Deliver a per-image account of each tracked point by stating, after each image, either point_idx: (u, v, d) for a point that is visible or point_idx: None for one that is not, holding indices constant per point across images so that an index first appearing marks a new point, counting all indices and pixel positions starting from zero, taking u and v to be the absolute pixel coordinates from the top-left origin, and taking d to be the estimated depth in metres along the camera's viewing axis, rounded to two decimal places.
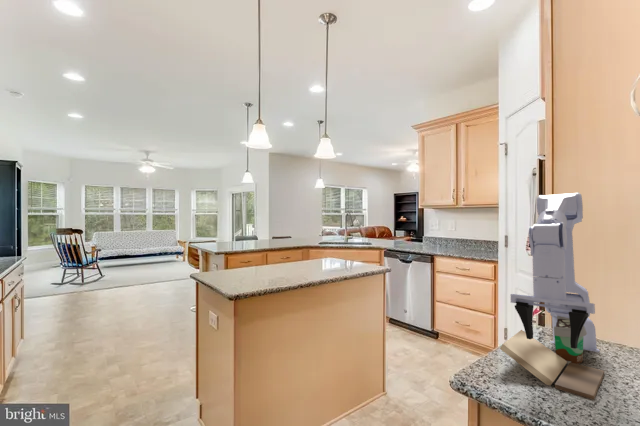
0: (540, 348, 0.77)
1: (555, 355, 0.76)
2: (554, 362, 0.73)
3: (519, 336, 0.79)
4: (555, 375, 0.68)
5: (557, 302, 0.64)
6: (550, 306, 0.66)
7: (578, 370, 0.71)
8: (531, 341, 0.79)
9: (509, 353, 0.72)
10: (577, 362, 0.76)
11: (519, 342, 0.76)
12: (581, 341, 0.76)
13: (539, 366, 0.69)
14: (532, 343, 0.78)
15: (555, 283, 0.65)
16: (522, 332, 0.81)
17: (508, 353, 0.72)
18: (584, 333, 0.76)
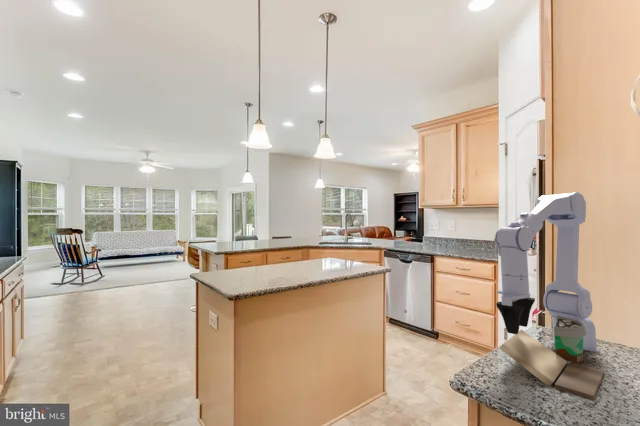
0: (540, 348, 0.77)
1: (555, 355, 0.76)
2: (554, 362, 0.73)
3: (519, 336, 0.79)
4: (555, 375, 0.68)
5: None
6: None
7: (578, 370, 0.71)
8: (531, 341, 0.79)
9: (509, 353, 0.72)
10: (577, 362, 0.76)
11: (519, 342, 0.76)
12: (581, 341, 0.76)
13: (539, 366, 0.69)
14: (532, 343, 0.78)
15: (502, 278, 0.78)
16: (522, 332, 0.81)
17: (508, 353, 0.72)
18: (584, 333, 0.76)
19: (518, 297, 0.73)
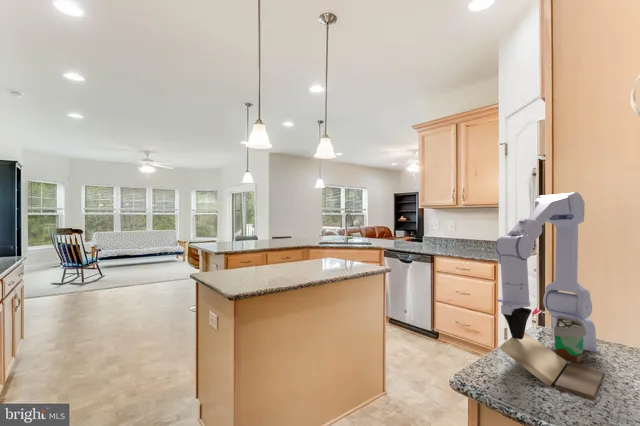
0: (540, 348, 0.77)
1: (555, 355, 0.76)
2: (554, 362, 0.73)
3: None
4: (555, 375, 0.68)
5: None
6: None
7: (578, 370, 0.71)
8: (531, 341, 0.79)
9: (509, 353, 0.72)
10: (577, 362, 0.76)
11: (519, 342, 0.76)
12: (581, 341, 0.76)
13: (539, 366, 0.69)
14: (532, 343, 0.78)
15: (502, 287, 0.78)
16: None
17: (508, 353, 0.72)
18: (584, 333, 0.76)
19: (518, 306, 0.73)
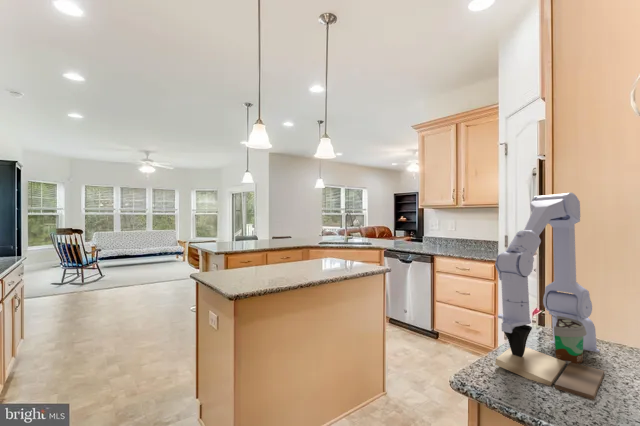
0: (535, 355, 0.78)
1: (552, 358, 0.76)
2: (551, 364, 0.74)
3: None
4: (553, 375, 0.69)
5: (502, 319, 0.78)
6: None
7: (578, 370, 0.71)
8: (526, 350, 0.80)
9: (505, 366, 0.73)
10: (577, 362, 0.76)
11: None
12: (581, 341, 0.76)
13: (535, 371, 0.70)
14: (527, 352, 0.79)
15: (502, 303, 0.78)
16: None
17: (504, 367, 0.73)
18: (584, 333, 0.76)
19: (518, 324, 0.73)
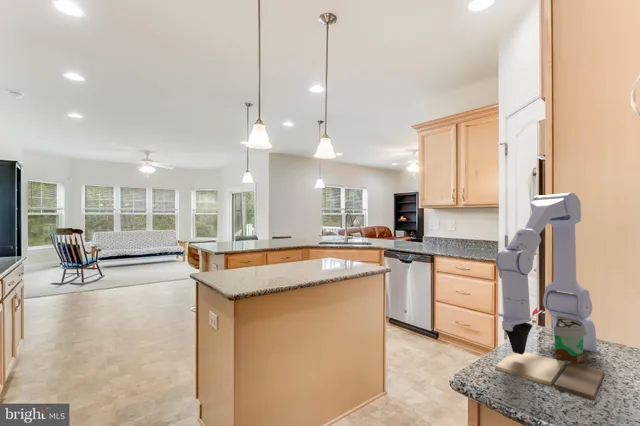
0: (535, 358, 0.78)
1: (551, 360, 0.77)
2: (551, 365, 0.74)
3: (512, 355, 0.80)
4: (552, 376, 0.69)
5: None
6: None
7: (578, 370, 0.71)
8: (526, 355, 0.80)
9: None
10: (577, 362, 0.76)
11: (512, 360, 0.77)
12: (581, 341, 0.76)
13: (535, 373, 0.70)
14: (527, 356, 0.79)
15: (503, 301, 0.78)
16: None
17: None
18: (584, 333, 0.76)
19: (519, 322, 0.73)
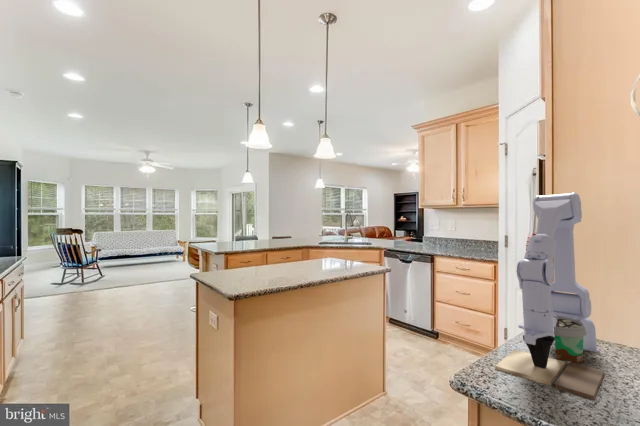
0: None
1: (551, 360, 0.77)
2: (551, 365, 0.74)
3: (512, 355, 0.80)
4: (552, 376, 0.69)
5: (523, 329, 0.74)
6: None
7: (578, 370, 0.71)
8: (526, 355, 0.80)
9: None
10: (577, 362, 0.76)
11: (512, 360, 0.77)
12: (581, 341, 0.76)
13: (535, 373, 0.70)
14: (527, 356, 0.79)
15: (524, 313, 0.75)
16: (515, 351, 0.82)
17: None
18: (584, 333, 0.76)
19: (542, 335, 0.70)
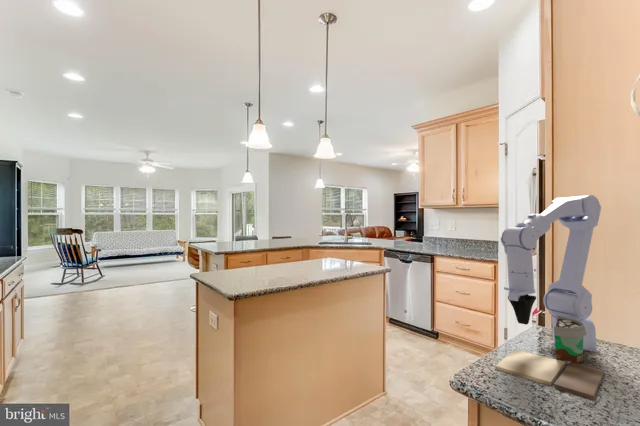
0: (535, 358, 0.78)
1: (551, 360, 0.77)
2: (551, 365, 0.74)
3: (512, 355, 0.80)
4: (552, 376, 0.69)
5: (508, 290, 0.83)
6: None
7: (578, 370, 0.71)
8: (526, 355, 0.80)
9: None
10: (577, 362, 0.76)
11: (512, 360, 0.77)
12: (581, 341, 0.76)
13: (535, 373, 0.70)
14: (527, 356, 0.79)
15: (508, 275, 0.83)
16: (515, 351, 0.82)
17: None
18: (584, 333, 0.76)
19: (524, 293, 0.78)
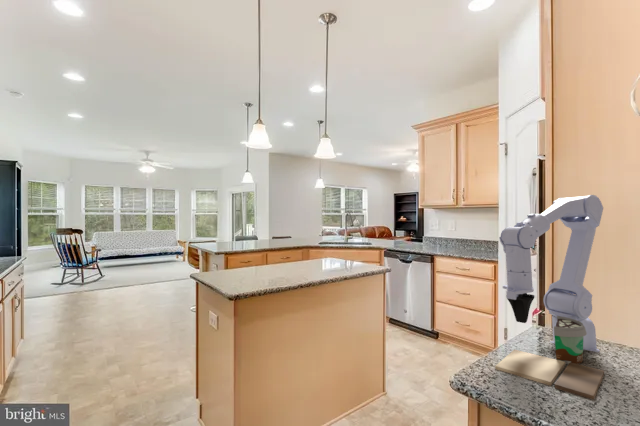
0: (535, 358, 0.78)
1: (551, 360, 0.77)
2: (551, 365, 0.74)
3: (512, 355, 0.80)
4: (552, 376, 0.69)
5: None
6: None
7: (578, 370, 0.71)
8: (526, 355, 0.80)
9: None
10: (577, 362, 0.76)
11: (512, 360, 0.77)
12: (581, 341, 0.76)
13: (535, 373, 0.70)
14: (527, 356, 0.79)
15: (507, 274, 0.84)
16: (515, 351, 0.82)
17: None
18: (584, 333, 0.76)
19: (522, 291, 0.79)
